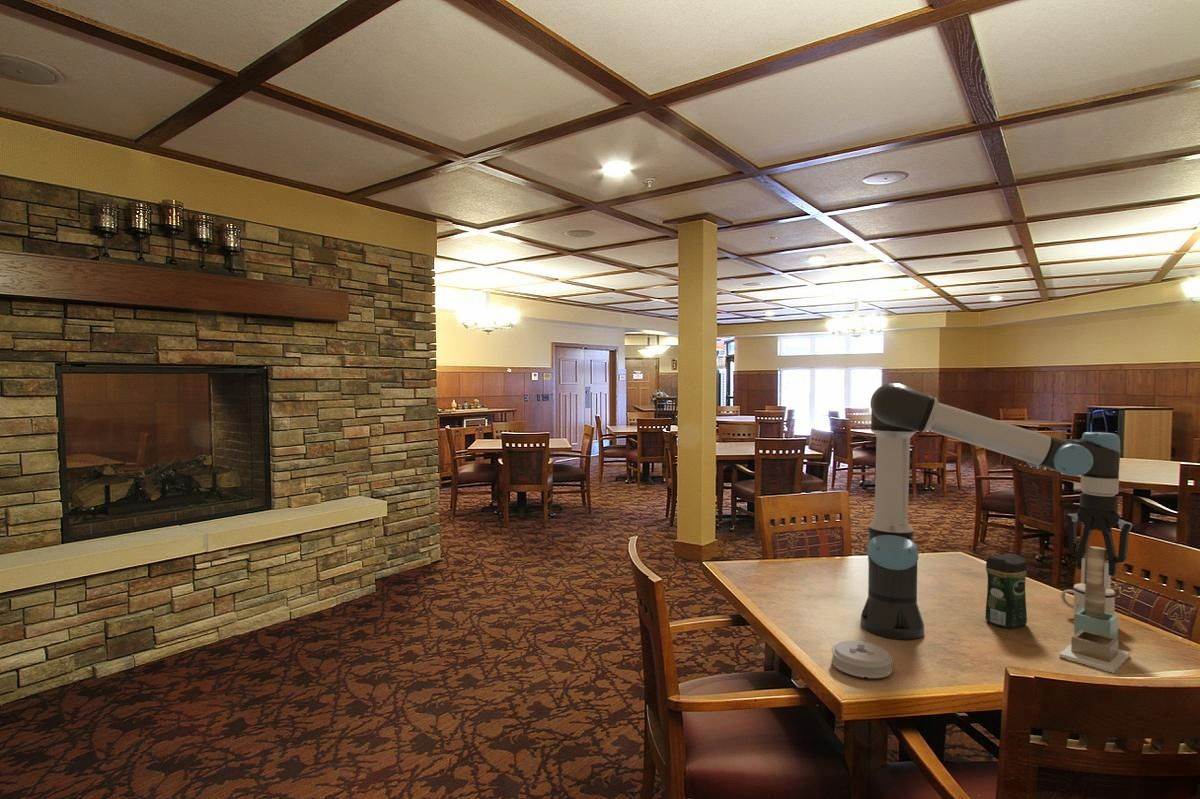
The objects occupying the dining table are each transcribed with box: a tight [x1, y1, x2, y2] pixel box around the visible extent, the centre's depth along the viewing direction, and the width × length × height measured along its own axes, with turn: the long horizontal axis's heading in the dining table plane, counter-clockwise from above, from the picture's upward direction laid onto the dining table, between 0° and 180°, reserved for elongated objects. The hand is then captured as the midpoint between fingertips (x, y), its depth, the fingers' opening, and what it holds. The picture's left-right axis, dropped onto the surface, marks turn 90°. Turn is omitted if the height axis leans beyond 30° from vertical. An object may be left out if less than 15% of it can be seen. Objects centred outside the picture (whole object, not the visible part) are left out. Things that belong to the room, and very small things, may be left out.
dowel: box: [1084, 545, 1108, 618], centre depth 157 cm, size 4×4×17 cm
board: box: [1059, 644, 1131, 674], centre depth 146 cm, size 14×10×1 cm
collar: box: [1070, 630, 1119, 662], centre depth 146 cm, size 7×7×4 cm
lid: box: [831, 639, 893, 679], centre depth 140 cm, size 13×13×5 cm
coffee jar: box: [985, 553, 1028, 629], centre depth 167 cm, size 10×8×19 cm
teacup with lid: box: [1060, 582, 1117, 619], centre depth 169 cm, size 12×9×12 cm
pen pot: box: [1073, 608, 1119, 639], centre depth 157 cm, size 7×7×6 cm
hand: (1095, 584), depth 157 cm, fingers closed on dowel, 4 cm apart
